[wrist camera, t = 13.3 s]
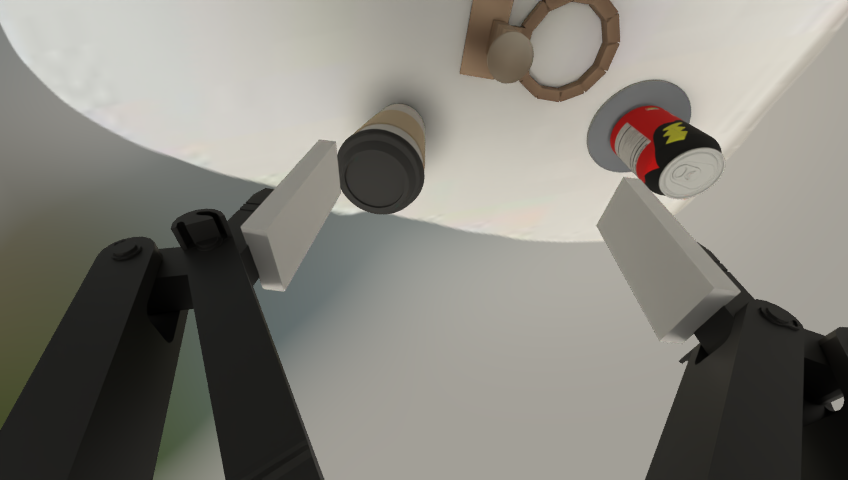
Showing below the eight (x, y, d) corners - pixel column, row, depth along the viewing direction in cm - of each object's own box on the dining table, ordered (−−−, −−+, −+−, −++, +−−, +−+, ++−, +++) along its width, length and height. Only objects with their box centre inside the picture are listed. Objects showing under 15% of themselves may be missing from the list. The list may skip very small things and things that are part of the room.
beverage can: (642, 160, 40) (697, 211, 31) (596, 148, 40) (637, 196, 30) (678, 110, 36) (753, 151, 27) (627, 96, 36) (685, 133, 26)
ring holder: (478, -29, 31) (487, -42, 19) (633, -3, 31) (734, -1, 19) (458, 82, 37) (455, 122, 26) (586, 103, 37) (642, 153, 26)
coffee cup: (444, 112, 40) (436, 163, 28) (418, 172, 45) (403, 235, 33) (376, 82, 38) (338, 121, 26) (358, 147, 44) (320, 204, 32)
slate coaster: (614, 72, 35) (616, 73, 35) (710, 88, 35) (713, 89, 35) (572, 163, 42) (573, 165, 41) (653, 176, 42) (655, 178, 41)
